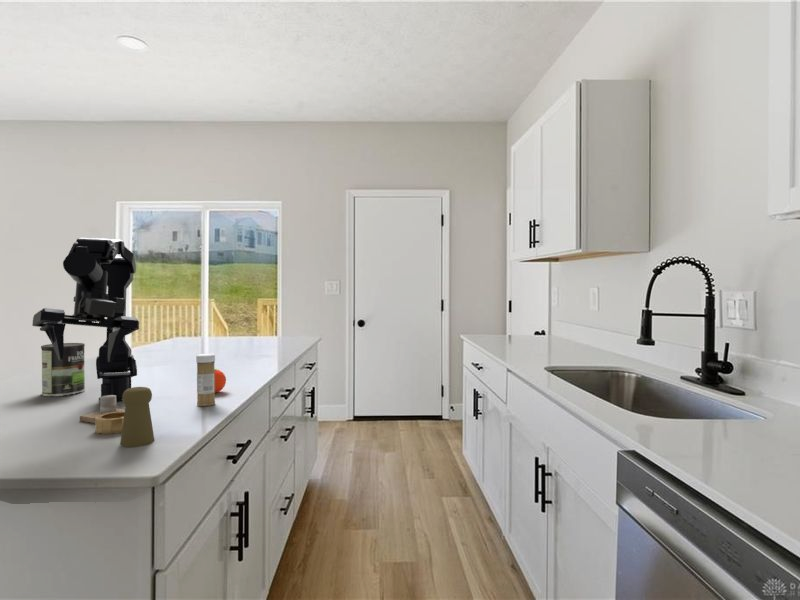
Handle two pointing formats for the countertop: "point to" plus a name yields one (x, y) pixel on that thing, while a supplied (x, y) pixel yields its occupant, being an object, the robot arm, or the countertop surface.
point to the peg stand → (102, 408)
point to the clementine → (219, 380)
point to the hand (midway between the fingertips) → (86, 360)
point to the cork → (137, 418)
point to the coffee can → (63, 370)
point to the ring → (109, 422)
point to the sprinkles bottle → (205, 379)
